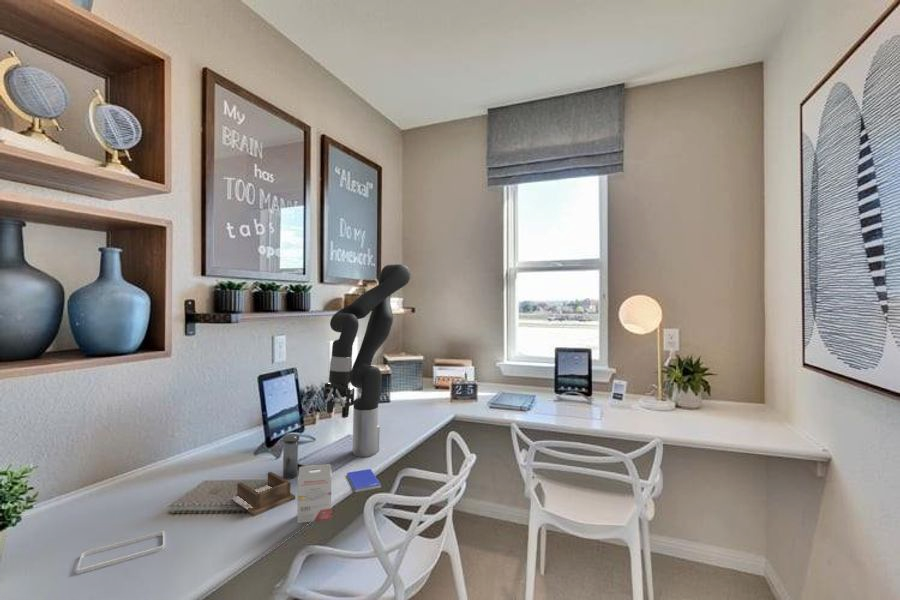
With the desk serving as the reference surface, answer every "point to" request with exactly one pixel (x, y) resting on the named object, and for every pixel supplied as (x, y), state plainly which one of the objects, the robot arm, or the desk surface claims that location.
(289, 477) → the pin
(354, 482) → the hard drive
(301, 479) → the ink cartridge box
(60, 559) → the desk surface
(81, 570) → the rectangular frame
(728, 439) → the desk surface
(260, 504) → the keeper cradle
